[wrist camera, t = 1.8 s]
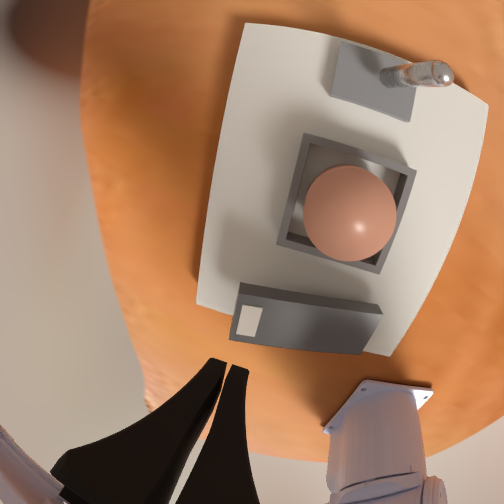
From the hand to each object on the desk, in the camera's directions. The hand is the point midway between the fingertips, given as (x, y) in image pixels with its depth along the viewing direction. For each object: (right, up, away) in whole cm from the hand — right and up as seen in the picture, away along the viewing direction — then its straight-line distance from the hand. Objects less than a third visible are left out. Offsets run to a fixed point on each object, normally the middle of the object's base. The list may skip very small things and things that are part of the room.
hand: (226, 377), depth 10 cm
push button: (+6, +7, +2) cm, 9 cm away
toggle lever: (+7, +13, -1) cm, 15 cm away
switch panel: (+6, +8, +4) cm, 11 cm away
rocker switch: (+4, +1, +4) cm, 6 cm away
